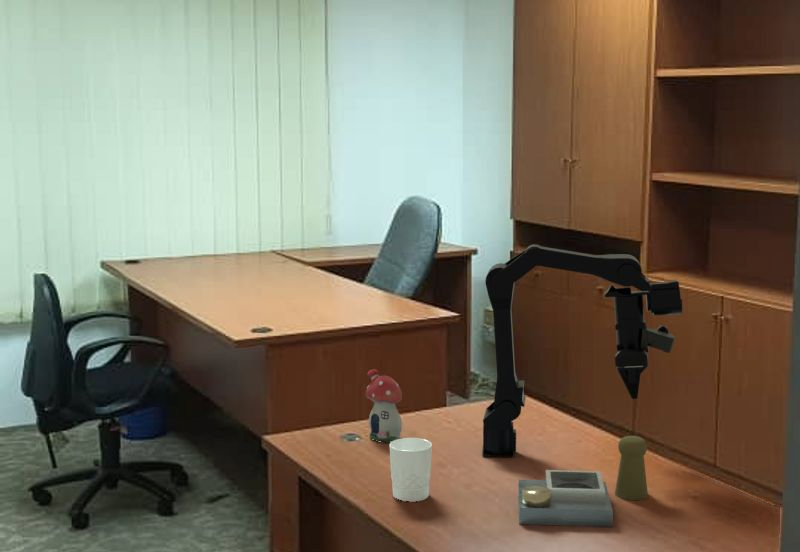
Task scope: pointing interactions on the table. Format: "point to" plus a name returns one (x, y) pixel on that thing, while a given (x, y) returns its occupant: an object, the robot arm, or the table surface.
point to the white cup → (410, 468)
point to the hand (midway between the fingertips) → (635, 393)
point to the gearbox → (565, 500)
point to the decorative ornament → (384, 407)
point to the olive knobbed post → (632, 469)
